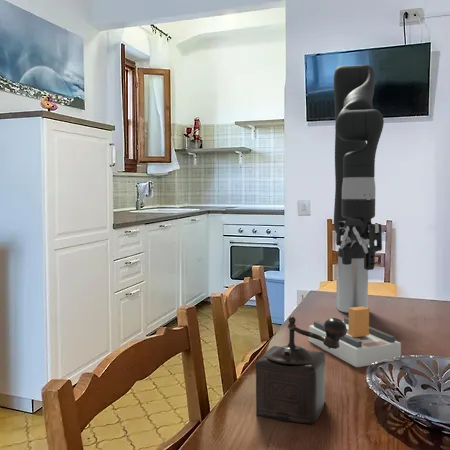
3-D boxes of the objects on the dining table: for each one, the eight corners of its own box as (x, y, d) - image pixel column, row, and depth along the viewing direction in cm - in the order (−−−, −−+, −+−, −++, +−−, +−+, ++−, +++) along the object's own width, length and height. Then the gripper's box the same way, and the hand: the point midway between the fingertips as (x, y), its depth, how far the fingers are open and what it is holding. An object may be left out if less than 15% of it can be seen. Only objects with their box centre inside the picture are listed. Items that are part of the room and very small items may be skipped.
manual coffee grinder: (252, 416, 85) (252, 314, 83) (272, 392, 95) (271, 300, 93) (344, 433, 79) (345, 323, 77) (354, 405, 89) (355, 307, 87)
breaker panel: (308, 341, 126) (308, 325, 126) (348, 335, 130) (348, 320, 130) (356, 367, 107) (356, 349, 107) (400, 360, 112) (401, 342, 111)
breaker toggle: (348, 334, 116) (348, 307, 116) (362, 332, 118) (362, 306, 117) (354, 337, 114) (354, 310, 114) (368, 335, 116) (369, 308, 115)
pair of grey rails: (314, 326, 125) (314, 321, 125) (347, 322, 129) (347, 317, 129) (357, 347, 108) (357, 342, 108) (394, 342, 112) (394, 336, 112)
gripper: (327, 197, 119) (327, 263, 120) (363, 197, 106) (362, 272, 107) (353, 197, 122) (353, 262, 123) (392, 197, 109) (391, 270, 110)
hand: (357, 266), depth 115 cm, fingers open, 8 cm apart
